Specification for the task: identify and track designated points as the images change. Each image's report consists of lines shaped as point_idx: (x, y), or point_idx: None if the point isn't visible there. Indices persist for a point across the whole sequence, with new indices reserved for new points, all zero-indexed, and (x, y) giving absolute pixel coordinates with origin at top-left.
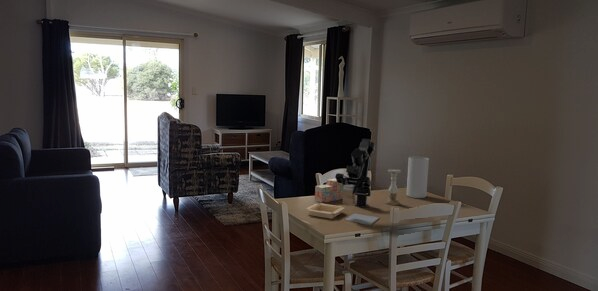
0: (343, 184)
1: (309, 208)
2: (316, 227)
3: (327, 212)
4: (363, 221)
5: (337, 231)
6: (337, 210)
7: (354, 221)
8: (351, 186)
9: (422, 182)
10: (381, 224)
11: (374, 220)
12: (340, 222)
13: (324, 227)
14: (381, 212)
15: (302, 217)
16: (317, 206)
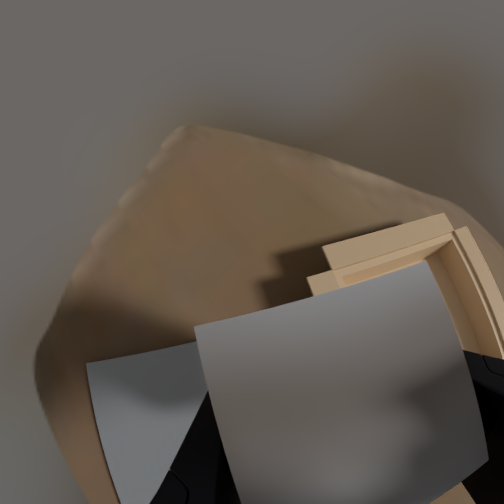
0: (500, 365)
1: (464, 243)
2: (271, 148)
3: (357, 256)
4: (140, 383)
5: (171, 168)
6: None
7: (183, 345)
8: (229, 333)
9: None
10: (60, 417)
11: (106, 447)
12: (247, 282)
13: (247, 167)
14: None
15: (423, 208)
16: (491, 328)
